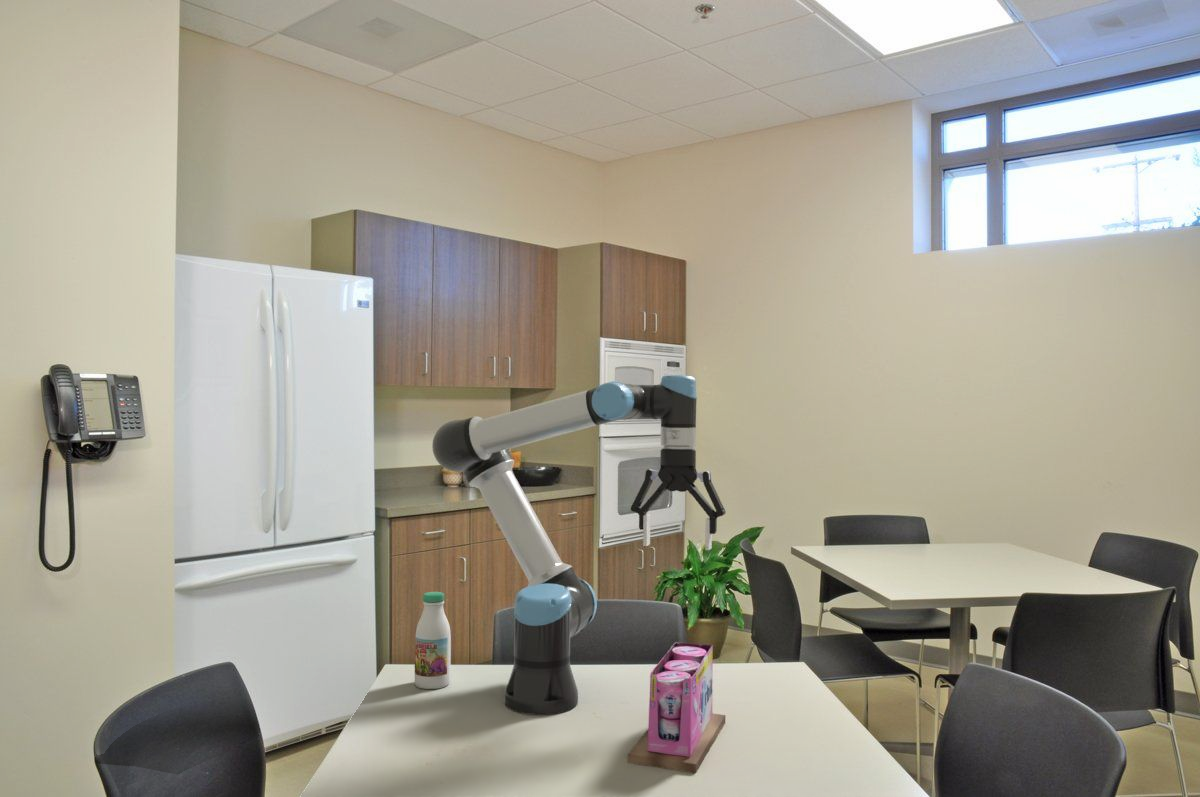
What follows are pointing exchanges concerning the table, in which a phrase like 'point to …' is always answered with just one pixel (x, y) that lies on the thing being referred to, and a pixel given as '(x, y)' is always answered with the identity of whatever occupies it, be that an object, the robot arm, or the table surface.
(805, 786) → the table surface
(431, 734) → the table surface
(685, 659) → the gum box
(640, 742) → the walnut board
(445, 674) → the milk bottle
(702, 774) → the table surface
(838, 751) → the table surface
